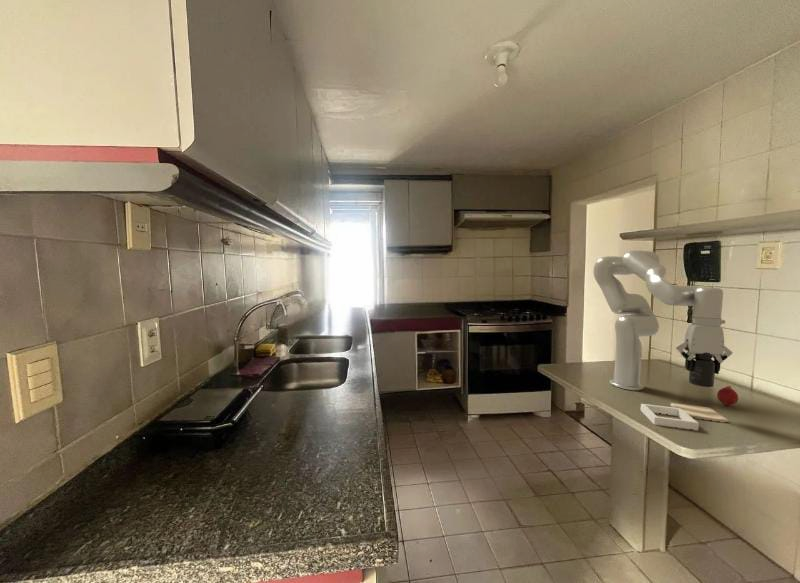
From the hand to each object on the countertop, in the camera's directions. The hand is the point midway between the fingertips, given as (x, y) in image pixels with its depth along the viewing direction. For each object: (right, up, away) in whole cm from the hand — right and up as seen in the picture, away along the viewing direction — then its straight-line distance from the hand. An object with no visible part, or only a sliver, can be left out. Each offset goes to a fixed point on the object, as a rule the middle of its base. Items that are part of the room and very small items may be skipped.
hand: (701, 371), depth 120 cm
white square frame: (-16, -16, -4) cm, 23 cm away
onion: (+18, -16, +9) cm, 25 cm away
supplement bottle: (0, -5, 0) cm, 5 cm away
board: (0, -16, +1) cm, 16 cm away
